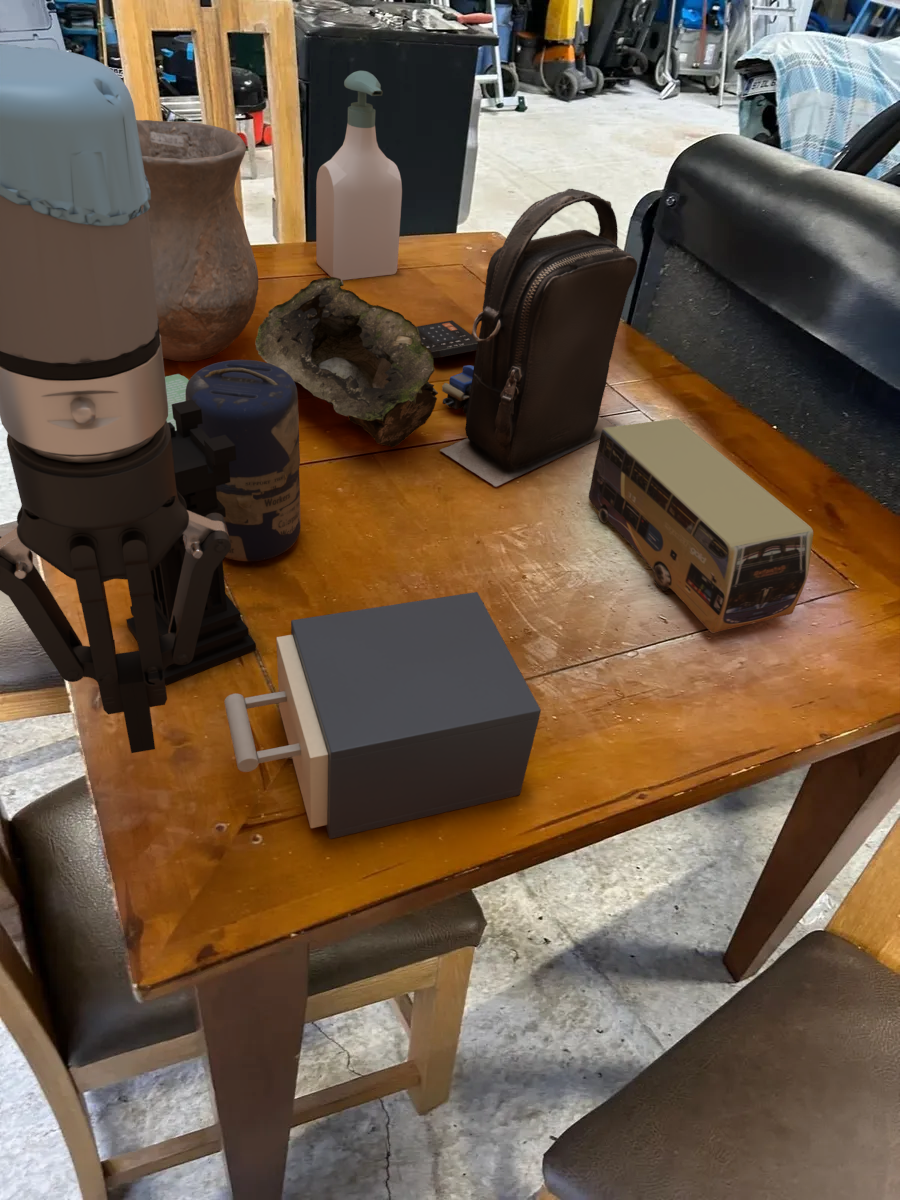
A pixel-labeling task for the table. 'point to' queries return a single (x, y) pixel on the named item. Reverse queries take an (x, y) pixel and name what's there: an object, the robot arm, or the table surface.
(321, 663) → the cabinet
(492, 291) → the shoulder bag
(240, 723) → the drawer
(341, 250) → the soap bottle
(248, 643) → the chess piece
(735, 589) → the toy bus
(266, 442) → the canister
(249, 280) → the vase
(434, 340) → the calculator
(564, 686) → the table surface
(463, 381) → the toy train
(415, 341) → the hollow geode rock
